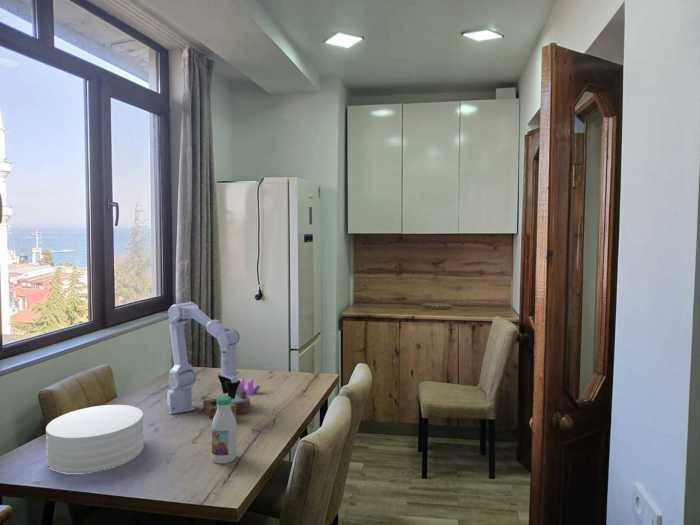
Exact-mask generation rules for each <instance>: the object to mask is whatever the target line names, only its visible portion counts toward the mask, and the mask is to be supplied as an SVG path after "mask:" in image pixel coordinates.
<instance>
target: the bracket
mask: <svg viewBox="0 0 700 525" xmlns="http://www.w3.org/2000/svg"><path fill="white" fill-rule="evenodd" d="M238 380H239V381H240V384H239V386H240V387H241V388H243V389H244V390H245V391H246V396H251V395H253V394H254V392H256V390H257V389H258V383H254V378H249V379H248V380H247V383H246V384H245V377H244V378H241V377H240V378H239V379H238Z"/></svg>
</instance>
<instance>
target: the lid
mask: <svg viewBox="0 0 700 525" xmlns="http://www.w3.org/2000/svg"><path fill="white" fill-rule="evenodd" d="M221 396H228V393H225V394H223V393H222V394H219V397H221ZM245 402H250V403H251V399H250V397H248V395H246V391H245V390H244V389H243V388H241V387H240V386H238V388H237V391H236V396H235V399H231V403H234V404H239V403H245Z"/></svg>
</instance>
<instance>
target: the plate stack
mask: <svg viewBox="0 0 700 525" xmlns="http://www.w3.org/2000/svg"><path fill="white" fill-rule="evenodd" d="M45 434H46V437H45V439H46V440H45V441H46V443H45V444H46V465H47V464H48V466H49V467H50V468H52V469H54V470H57V471H60V472H66V473H89V474H91V473H90V472H96V471H100V472H102V471H101V470H105V471H107V470H106V469H108V470H111V468H112V469H114V467H115V468H117V466H118V467H119V466H123V465H124V464H127V463H129V462H131V461H133V460H134V459H136V458H137V457H138V456H139V455H141V453H142V452H143V450H144V413H143V411H142V409H140V408H138V407H136V406H132V405H129V404H128V405H127V404H105V405H97V406H96V405H95V406H89V407H85V408H81V409H76V410H73V411H70V412H67V413H64V414H62V415H60V416H57V417H56V418H54V419H52V420H51V421H50V422H49V423H48V424H47V425H46V427H45ZM136 456H137V457H136ZM130 460H131V461H130ZM128 461H129V462H128ZM122 464H123V465H122ZM48 466H47V467H48ZM96 473H97V472H96Z"/></svg>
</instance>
